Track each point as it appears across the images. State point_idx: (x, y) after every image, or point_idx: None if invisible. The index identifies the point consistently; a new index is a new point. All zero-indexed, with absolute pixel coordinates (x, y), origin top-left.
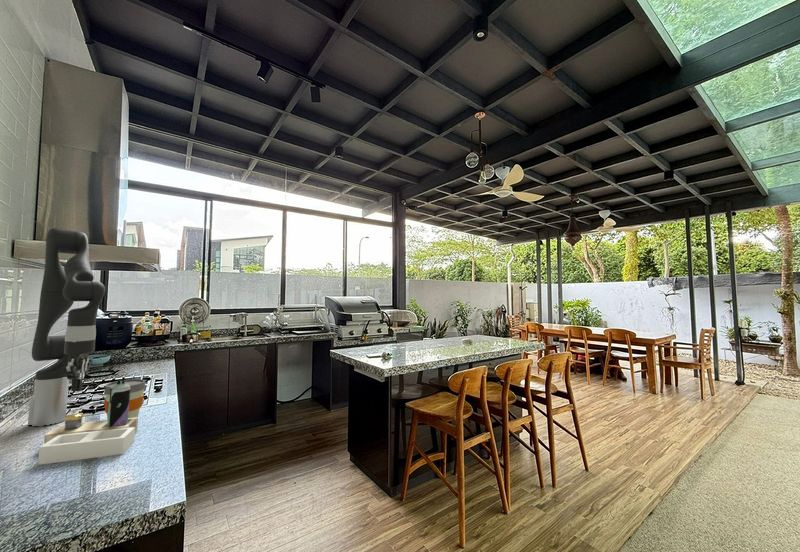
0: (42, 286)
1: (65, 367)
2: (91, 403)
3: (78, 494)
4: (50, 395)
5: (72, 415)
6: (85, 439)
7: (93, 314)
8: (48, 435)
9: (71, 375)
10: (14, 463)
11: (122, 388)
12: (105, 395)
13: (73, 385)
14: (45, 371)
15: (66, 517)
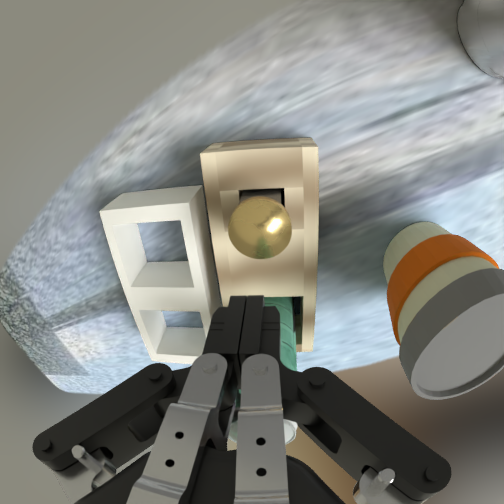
0: None
1: (42, 452)
2: None
3: (47, 315)
4: None
5: (260, 225)
6: (143, 295)
7: None
8: (201, 164)
9: (155, 402)
10: (139, 124)
11: (232, 439)
12: (452, 276)
13: (209, 336)
14: None
15: (19, 320)
